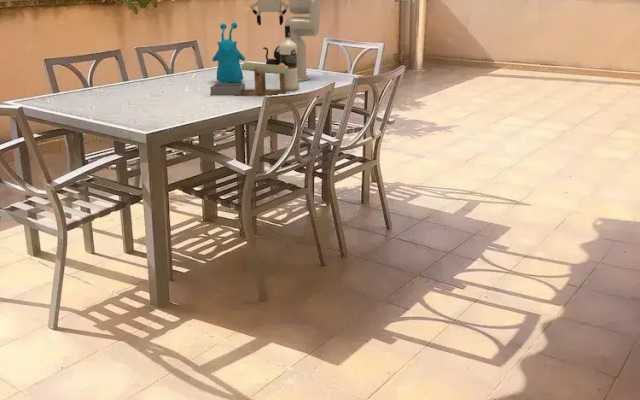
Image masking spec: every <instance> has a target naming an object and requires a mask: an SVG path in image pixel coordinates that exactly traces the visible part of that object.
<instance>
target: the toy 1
mask: <svg viewBox="0 0 640 400" xmlns="http://www.w3.org/2000/svg"><path fill="white" fill-rule="evenodd" d="M219 27H220V29H221V30H222V32H221V34H220V35H221V41H217V45H218V50H217V51H216V53H215V55H214V56H213V57H212V58H211V61H212V62H217V70H216V81H218V83H240V82H241V81H243V79H244V76H243V70H242V69H241V67H242V65H241V63H240V60H241V61H242V62H243V61H244V62H245V60H246V57H245V56H244V55H243V54H242V53H241V51H240V50H239V49H238V48H237V43H238V41H235V40H233V39H232V32H233V29H235V30H236V29H237V28H238V24H237V22H235V21H233V22H231V27H230V30H229V34H228V39H227V38H226V39H225V30H226V29H227V24H226V23H221V24H220V25H219Z"/></svg>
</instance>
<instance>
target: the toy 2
mask: <svg viewBox="0 0 640 400" xmlns="http://www.w3.org/2000/svg"><path fill="white" fill-rule="evenodd" d="M279 46H280V45H278V46H277V47H275V49H274V51H273V57H274V58H268V57H269V56H268V55H269V49H268V47H266V46H265V47H264V46H263V47H262V49H263V50H266V52H265V53H266V54H265V60H266V62H265V64H271V65H279V64H280V53H279V52H280V50H279ZM266 73H267V74H269V73H268V72H266Z"/></svg>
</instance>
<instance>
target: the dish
mask: <svg viewBox="0 0 640 400" xmlns="http://www.w3.org/2000/svg"><path fill="white" fill-rule="evenodd" d="M245 90H246V83H245V82H241V83H240V82H237V83H232V82H226V83H220V82H218V83H217V82H216V83H214V84H212V85H211V86H210V96H211V95H233V96H234V97H237V96H238V97H239V96H241V94H242V93H243V92H244V91H245ZM241 97H242V96H241Z"/></svg>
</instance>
